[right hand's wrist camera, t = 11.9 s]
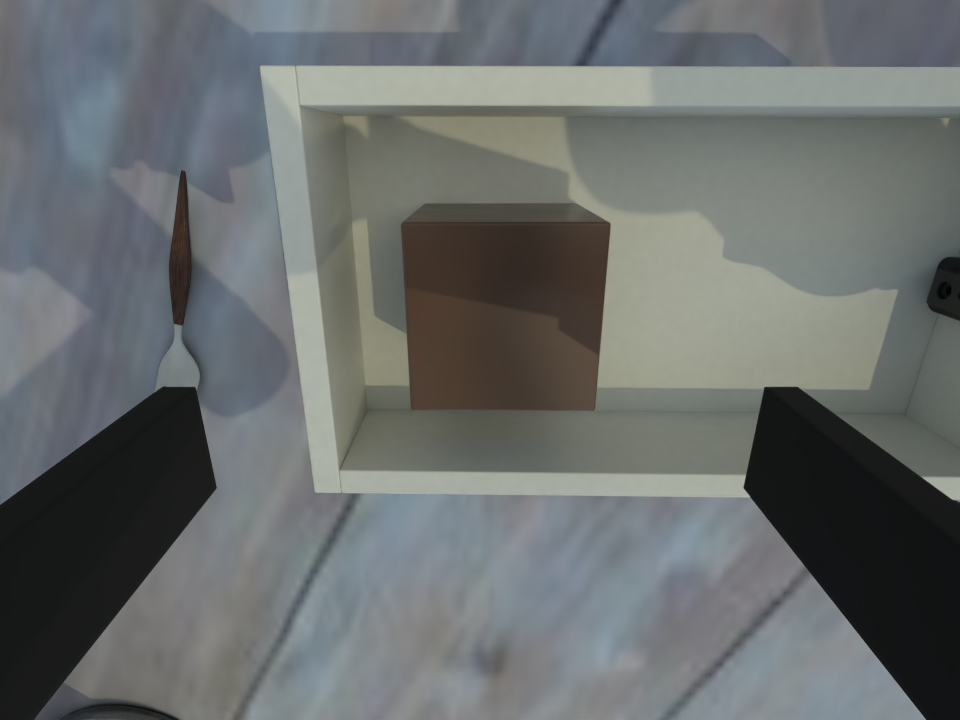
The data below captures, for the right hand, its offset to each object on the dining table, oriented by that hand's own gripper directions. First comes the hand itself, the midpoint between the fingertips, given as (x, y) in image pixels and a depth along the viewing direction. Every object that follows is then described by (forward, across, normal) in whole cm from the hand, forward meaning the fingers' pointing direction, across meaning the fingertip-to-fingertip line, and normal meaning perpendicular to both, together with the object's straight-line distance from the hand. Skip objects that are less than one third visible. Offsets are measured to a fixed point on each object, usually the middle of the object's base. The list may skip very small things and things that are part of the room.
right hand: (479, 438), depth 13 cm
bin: (+11, +7, +2) cm, 13 cm away
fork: (+21, -18, -2) cm, 28 cm away
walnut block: (+10, +1, +2) cm, 11 cm away
